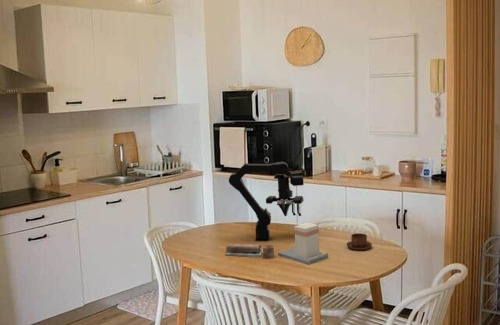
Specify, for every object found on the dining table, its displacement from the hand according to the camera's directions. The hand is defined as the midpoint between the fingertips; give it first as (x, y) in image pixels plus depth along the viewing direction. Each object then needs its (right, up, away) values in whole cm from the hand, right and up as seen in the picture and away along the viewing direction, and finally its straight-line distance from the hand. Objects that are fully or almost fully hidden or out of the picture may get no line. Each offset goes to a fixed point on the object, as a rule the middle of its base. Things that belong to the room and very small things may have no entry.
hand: (285, 216), depth 296 cm
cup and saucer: (+34, -14, -19) cm, 42 cm away
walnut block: (-10, -17, -26) cm, 33 cm away
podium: (+6, -16, -28) cm, 33 cm away
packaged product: (-21, -17, -19) cm, 33 cm away
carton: (+8, -15, -31) cm, 35 cm away
